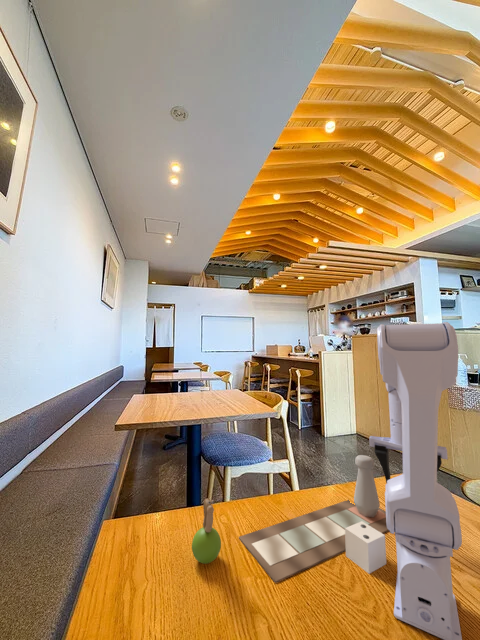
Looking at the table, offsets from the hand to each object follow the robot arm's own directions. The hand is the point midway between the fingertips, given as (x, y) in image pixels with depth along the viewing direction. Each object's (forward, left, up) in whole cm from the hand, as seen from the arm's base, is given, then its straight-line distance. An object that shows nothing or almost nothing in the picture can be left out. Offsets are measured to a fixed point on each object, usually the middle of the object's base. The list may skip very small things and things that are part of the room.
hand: (408, 486), depth 59 cm
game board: (-7, +16, -10) cm, 20 cm away
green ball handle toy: (-29, +32, -11) cm, 44 cm away
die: (-12, +7, -10) cm, 17 cm away
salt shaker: (+5, +9, -10) cm, 15 cm away
